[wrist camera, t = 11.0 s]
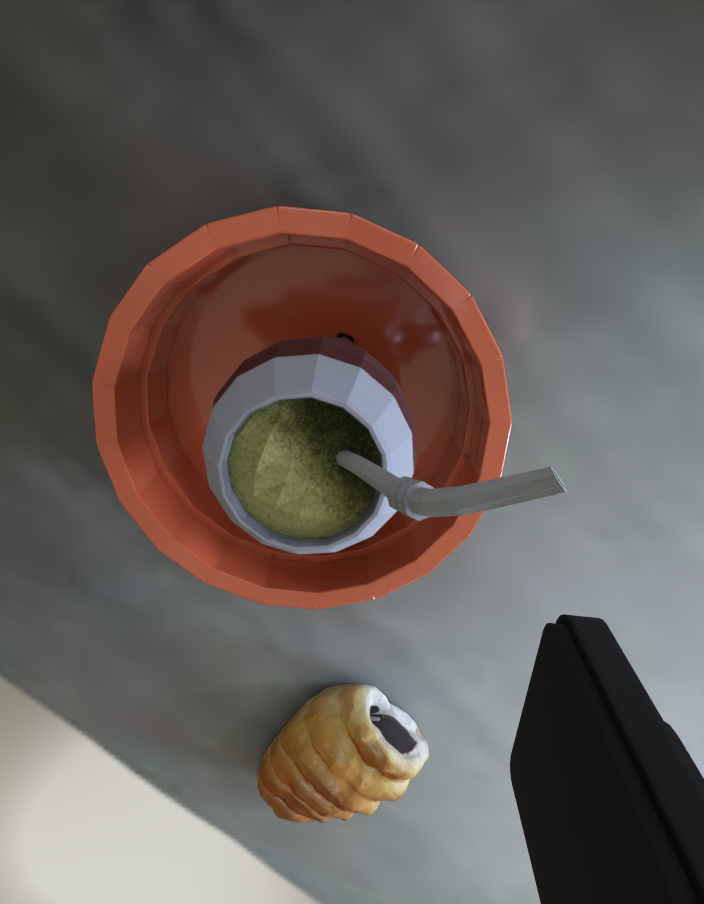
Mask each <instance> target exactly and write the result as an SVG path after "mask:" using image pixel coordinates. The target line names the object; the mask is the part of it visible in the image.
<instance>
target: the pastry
mask: <svg viewBox="0 0 704 904" xmlns="http://www.w3.org/2000/svg"><path fill="white" fill-rule="evenodd" d="M428 756H429V753H428V744H427V742H426V740H425V739H424V738H423V737H422V735H421V734H420V732H419V729H418V726H417V725H416V723H415V722H414V721H413V720H412V719H411V717H410V716H409V715H408V714H407V713H405V712H403V711H402V710H400V709H399V708H398V707H396V706H394V705H392V704H390V703H389V702H388V701H387V698H386V697H385V695H384V694H383V693H382V692H381V691H379V690H378V689H377V688H376V687H374V686H372V685H368V684H340V685H336V686H331V687H328V688H325V689H324V690H323V691H322V692H320V693H319V694H317V695H316V696H315V697H313V698H311V699H308V700H307V701H306V703H305V704H304V705H303V706H302V707H301V708H299V709H298V711H297V712H296V713H295V715H294V716H292V717H291V718H290V720H289V721H288V722H287V724H286V725H285V726H284V727H283V728H282V730H281V731H280V733H279V734H278V735H277V737H276V738H275V739H274V741H273V742H272V743H271V745H270V746H269V747H268V749H267V750H266V752H265V754H264V756H263V760H262V763H261V766H260V768H259V770H258V789H259V792H260V796H261V797H262V798H263V800H265V801H266V802H267V804H268V805H269V806H271V807H272V809H273V811H274V813H275V814H276V815H277V817H279V818H281V819H286V820H290V821H294V822H307V821H314V820H317V821H319V822H321V823H325V822H326V821H328V820H329V819H331V818H333V817H335V818H340V819H342V820H348V819H350V818H351V817H352V816H353V815H354V814H355V813H356V812H358V813H361V814H366V815H369V814H372V813H373V812H374V811H375V810H376V809H377V807H378V806H379V803H380V801H396V800H397V799H399V798H400V797H401V796H402V795H403V794H404V792H405V791H406V789H407V786H408V783H409V781H410V779H412V778H414V777H415V775H416V774H417V773H418V772H419V771H420V769H421V767H422V766H423V764H424V762H425V761H426V760H427V759H428Z"/></svg>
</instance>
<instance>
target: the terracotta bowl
mask: <svg viewBox="0 0 704 904" xmlns="http://www.w3.org/2000/svg"><path fill="white" fill-rule="evenodd" d="M109 319H110V320H109V321H108V324H107V328H106V331H105V335H104V339H103V343H102V346H101V350H100V354H99V357H98V361H97V365H96V369H95V372H94V376H93V382H92V392H93V406H94V419H95V433H96V444H97V447H98V450H99V452H100V454H101V457H102V459H103V462H104V464H105V467H106V469H107V472H108V474H109V477H110V479H111V482H112V484H113V487H114V489H115V492H116V494H117V497H118V499H119V501H120V503H121V504H122V506H123V507H124V508H125V509H126V511H127V512H128V513H129V514H130V516H131V517H132V518H133V519H134V521H135V522H136V523H137V524H138V526H139V527H140V528H141V529H142V531H143V532H144V533H145V534H146V536H147V537H148V538H149V539H150V541H151V542H152V543H153V544H154V546H155V547H156V548H158V550H159V551H160V552H162V553H163V554H165V555H166V556H167V557H169V558H170V559H172V560H173V561H174V562H176V563H177V564H179V565H180V566H181V567H183V568H184V569H186V570H187V571H188V572H190V573H191V574H193V575H194V576H195V577H197V578H198V579H200V580H201V581H202V582H204V583H207V584H208V585H211V586H214V587H216V588H219V589H222V590H224V591H227V592H230V593H232V594H235V595H238V596H241V597H243V598H246V599H249V600H251V601H254V602H257V603H261V604H264V605H275V606H285V607H296V608H306V609H318V608H319V609H323V608H329V607H335V606H341V605H346V604H352V603H358V602H364V601H369V600H374V599H378V598H380V597H382V596H384V595H386V594H388V593H390V592H392V591H394V590H396V589H398V588H400V587H402V586H404V585H406V584H409V583H411V582H413V581H415V580H417V579H419V578H421V577H423V576H425V575H426V574H428V573H430V572H431V571H432V570H433V569H434V568H435V567H436V566H437V565H438V564H439V563H440V562H442V561H443V560H444V559H445V558H446V557H447V556H448V555H449V554H450V553H451V552H452V551H454V550H455V549H456V548H457V547H458V546H459V545H460V544H461V543H462V542H463V541H464V540H465V539H467V538H468V537H469V535H470V534H471V533H472V531H473V529H474V528H475V526H476V524H477V522H478V521H479V519H480V517H481V515H482V514H483V512H484V511H481V512H476V513H472V514H467V515H462V516H446V517H428V518H425V519H423V520H420V521H417V520H415V519H412V518H410V517H408V516H406V515H404V514H403V513H401V512H399V511H397V512H396V513H395V514H394V515H393V516H392V517H391V518H390V519H389V520H388V521H387V522H386V523H385V524H384V525H383V526H382V527H381V528H380V529H379V530H378V531H377V532H376V533H375V534H374V535H373V536H372V537H370V538H367V539H365V540H363V541H360V542H358V543H356V544H353V545H351V546H349V547H346V548H344V549H342V550H340V551H337V552H333V553H314V554H295V553H291V552H288V551H284V550H281V549H278V548H274V547H271V546H268V545H264V544H262V543H260V542H259V541H258V540H256V539H255V538H254V537H252V536H251V535H250V534H248V533H247V532H245V531H244V530H243V529H241V528H240V527H239V526H237V525H236V524H235V523H233V522H232V521H231V520H230V518H229V517H228V515H227V514H226V512H225V511H224V509H223V507H222V506H221V504H220V503H219V501H218V500H217V498H216V497H215V495H214V493H213V492H212V490H211V489H210V487H209V482H208V477H207V471H206V465H205V460H204V454H203V449H202V446H203V442H204V438H205V434H206V430H207V426H208V422H209V418H210V414H211V410H212V406H213V402H214V399H215V397H216V395H217V394H218V392H219V391H220V389H221V388H222V387H223V386H224V384H225V383H226V382H227V381H228V379H229V378H230V377H231V376H232V374H233V373H234V372H235V370H236V369H237V368H238V367H239V365H240V364H241V363H242V362H243V360H245V359H247V358H249V357H251V356H253V355H255V354H257V353H259V352H261V351H263V350H264V349H266V348H268V347H270V346H272V345H274V344H276V343H278V342H280V341H283V340H289V339H301V338H314V337H326V336H328V337H336V336H337V333H344V334H347V335H350V336H352V337H353V338H354V339H355V341H354V343H355V344H356V345H358V346H360V347H361V348H363V349H364V350H365V351H366V352H368V353H369V354H370V355H371V356H372V357H373V358H374V359H375V360H377V361H378V362H379V363H380V364H381V365H382V366H383V367H384V368H385V369H387V370H388V371H389V372H390V373H391V374H392V375H393V376H394V377H395V378H396V380H397V381H398V384H399V386H400V388H401V390H402V392H403V394H404V396H405V398H406V400H407V402H408V404H409V407H410V409H411V411H412V413H413V415H414V419H415V435H416V453H417V464H416V466H415V469H414V473H413V476H412V478H413V479H417V480H420V481H423V482H425V483H427V484H428V485H430V486H432V487H434V488H444V487H455V486H463V485H468V484H472V483H477V482H482V481H487V480H492V479H497V478H501V476H502V471H503V466H504V461H505V456H506V451H507V446H508V441H509V436H510V431H511V425H512V422H511V420H512V417H511V409H510V402H509V395H508V387H507V380H506V373H505V365H504V359H503V357H502V353H501V351H500V349H499V347H498V345H497V343H496V341H495V339H494V337H493V335H492V333H491V331H490V329H489V327H488V325H487V323H486V321H485V319H484V317H483V315H482V313H481V311H480V310H479V308H478V306H477V304H476V302H475V300H474V298H473V296H471V294H470V292H469V291H468V290H467V289H466V288H465V287H464V286H463V285H461V284H460V283H459V282H458V281H457V280H456V279H455V278H454V277H453V276H452V275H451V274H450V273H449V272H448V271H447V270H446V269H445V268H444V267H443V266H442V265H441V264H440V263H439V262H438V261H437V260H436V259H435V258H434V257H432V256H431V255H430V254H429V253H428V252H427V251H426V250H425V249H424V248H423V247H422V246H420V245H418V244H417V243H416V242H414V241H412V240H410V239H408V238H406V237H403V236H401V235H399V234H397V233H395V232H393V231H390V230H388V229H386V228H384V227H382V226H380V225H377V224H375V223H373V222H371V221H369V220H367V219H365V218H362V217H360V216H358V215H356V214H351V213H349V212H342V211H331V210H321V209H311V208H300V207H290V206H278V207H277V206H272V207H268V208H264V209H260V210H256V211H252V212H248V213H244V214H241V215H237V216H233V217H229V218H225V219H221V220H217V221H213V222H209V223H207V225H203V226H201V227H200V228H198V229H197V230H195V231H194V232H192V233H191V234H189V235H188V236H187V237H185V238H184V239H182V240H181V241H179V242H178V243H176V244H175V245H174V246H172V247H171V248H169V249H168V250H166V251H165V252H163V253H162V254H160V255H159V256H158V257H156V258H155V259H153V260H152V261H150V262H149V264H147V265H146V266H145V267H144V269H143V270H142V272H141V273H140V274H139V276H138V277H137V279H136V280H135V282H134V283H133V284H132V286H131V287H130V289H129V290H128V292H127V293H126V294H125V296H124V297H123V299H122V300H121V302H120V303H119V304H118V306H117V307H116V309H115V310H114V312H113V313H112V314H111V316H110V317H109Z"/></svg>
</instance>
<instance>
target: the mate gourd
mask: <svg viewBox="0 0 704 904" xmlns="http://www.w3.org/2000/svg"><path fill="white" fill-rule="evenodd" d="M354 341H355V339H354V338H353V337H352V336H350V335H347V334H344V333H337V336H336V337H328V336H326V337H314V338H301V339H289V340H283V341H280V342H278V343H276V344H274V345H272V346H270V347H268V348H266V349H264V350H263V351H261V352H259V353H257V354H255V355H253V356H251V357H249V358H247V359H245V360H243V362H242V363H241V364H240V365H239V367H238V368H237V369H236V370H235V372H234V373H233V374H232V376H231V377H230V378H229V379H228V381H227V382H226V383H225V384H224V386H223V387H222V388H221V389H220V391H219V392H218V394H217V395H216V397H215V399H214V402H213V406H212V410H211V414H210V418H209V422H208V426H207V430H206V434H205V438H204V442H203V446H202V449H203V454H204V460H205V465H206V471H207V477H208V482H209V487H210V489H211V490H212V492H213V493H214V495H215V497H216V498H217V500H218V501H219V503H220V504H221V506H222V507H223V509H224V511H225V512H226V514H227V515H228V517H229V518H230V520H231V521H232V522H233V523H235V524H236V525H237V526H239V527H240V528H241V529H243V530H244V531H245V532H247V533H248V534H250V535H251V536H252V537H254V538H255V539H256V540H258V541H259V542H260V543H262V544H264V545H268V546H271V547H274V548H278V549H281V550H284V551H288V552H291V553H295V554H314V553H333V552H337V551H340V550H342V549H344V548H346V547H349V546H351V545H353V544H356V543H358V542H360V541H363V540H365V539H367V538H370V537H372V536H373V535H374V534H375V533H376V532H377V531H378V530H379V529H380V528H381V527H382V526H383V525H384V524H385V523H386V522H387V521H388V520H389V519H390V518H391V517H392V516H393V515H394V514H395V513H396V512H397V511H399V512H401V513H403V514H404V515H406V516H408V517H410V518H412V519H415V520H417V521H420V520H423V519H425V518H428V517H446V516H462V515H467V514H472V513H476V512H481V511H485V510H489V509H494V508H498V507H503V506H507V505H512V504H516V503H521V502H525V501H529V500H534V499H539V498H544V497H549V496H554V495H558V494H563V493H567V491H566V489H565V486H564V485H563V483H562V481H561V480H560V478H559V476H558V475H557V473H556V472H555V471H554V469H553V468H552V467H547V468H543V469H539V470H535V471H530V472H526V473H521V474H516V475H511V476H506V477H502V478H497V479H492V480H487V481H482V482H477V483H472V484H468V485H463V486H455V487H444V488H434V487H432V486H430V485H428V484H427V483H425V482H423V481H420V480H417V479H413V478H412V476H413V473H414V469H415V466H416V464H417V453H416V435H415V419H414V415H413V413H412V411H411V409H410V407H409V404H408V402H407V400H406V398H405V396H404V394H403V392H402V390H401V388H400V386H399V384H398V381H397V380H396V378H395V377H394V376H393V375H392V374H391V373H390V372H389V371H388V370H387V369H385V368H384V367H383V366H382V365H381V364H380V363H379V362H378V361H377V360H375V359H374V358H373V357H372V356H371V355H370V354H369V353H368V352H366V351H365V350H364V349H363V348H361V347H360V346H358V345H356V344H355V343H354Z"/></svg>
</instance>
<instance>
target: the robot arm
mask: <svg viewBox="0 0 704 904" xmlns="http://www.w3.org/2000/svg"><path fill="white" fill-rule="evenodd" d="M510 773H511V781H512V786H513V790H514V794H515V798H516V802H517V806H518V811H519V815H520V819H521V823H522V827H523V831H524V835H525V840H526V844H527V848H528V852H529V856H530V860H531V864H532V869H533V873H534V877H535V881H536V885H537V889H538V893H539V898H540V902H541V904H704V778H703V777H702V775H701V773H700V772H699V770H698V768H697V767H696V765H695V763H694V762H693V760H692V758H691V757H690V755H689V753H688V752H687V750H686V748H685V747H684V745H683V743H682V742H681V740H680V738H679V737H678V735H677V734H676V733H675V731H674V730H673V729H672V727H671V726H670V725H669V724H667V723H666V722H664V721H663V719H662V717H661V716H660V714H659V712H658V711H657V709H656V707H655V706H654V704H653V702H652V700H651V699H650V697H649V695H648V694H647V692H646V690H645V689H644V687H643V685H642V683H641V682H640V680H639V678H638V677H637V675H636V673H635V672H634V670H633V668H632V666H631V665H630V663H629V661H628V660H627V658H626V656H625V655H624V653H623V651H622V649H621V648H620V646H619V644H618V643H617V641H616V639H615V638H614V636H613V634H612V632H611V631H610V629H609V627H608V626H607V624H606V623H605V622H604V620H602V619H600V618H592V617H583V616H573V615H564V614H563V615H561V616H559V618H558V619H557V621H556V624H554V623H548V624H546V626H545V627H544V630H543V633H542V637H541V641H540V645H539V649H538V653H537V656H536V660H535V664H534V668H533V672H532V676H531V680H530V683H529V687H528V691H527V695H526V699H525V703H524V707H523V710H522V714H521V718H520V722H519V726H518V730H517V734H516V737H515V741H514V745H513V749H512V753H511V759H510Z"/></svg>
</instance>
